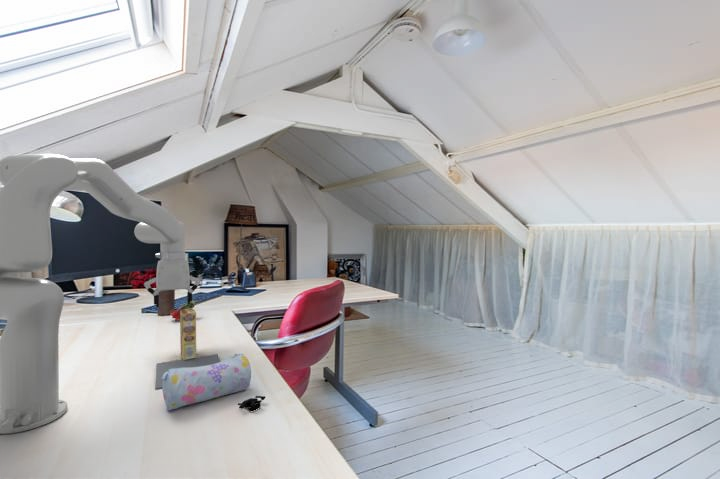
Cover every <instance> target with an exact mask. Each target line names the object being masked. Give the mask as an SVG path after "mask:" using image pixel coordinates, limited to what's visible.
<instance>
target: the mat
mask: <svg viewBox="0 0 720 479" xmlns="http://www.w3.org/2000/svg"><path fill="white" fill-rule="evenodd" d="M219 356H220V355H219V354H217V353H216V354H210V355H204V356H196V358H193V359H187V360H183V358H182V359H176V360H171V361H163V362H156V366H155V367H156V368H155V383H154V384H155V385H154V386H155V387H154V389H155V391H156V390H159V389H160V390H161V389H162V381H163V379H161V378H162V376H163V374H164V373H165V372H167V371H169V369H172V368H188V367H200V366H207V365H212V364H216V363H219V362H221V359H220V357H219Z"/></svg>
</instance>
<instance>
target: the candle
mask: <svg viewBox="0 0 720 479" xmlns="http://www.w3.org/2000/svg"><path fill="white" fill-rule="evenodd" d="M175 293H176V290H161V291H160V292H159V293H158V295H159V307H157V316H167V315H170V313H172V311H173V312H175V311H176V310H175V305H176V304H175V303H176V302H175V301H176V299H175ZM173 308H174V309H173Z"/></svg>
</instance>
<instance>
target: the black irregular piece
mask: <svg viewBox="0 0 720 479" xmlns="http://www.w3.org/2000/svg"><path fill="white" fill-rule="evenodd" d="M259 399H260V400H259ZM265 399H266V396H265V395H264V396H262V395H256V396H255V398H253V397H251V398H248V399H246V400H244V401H242V402H239V403H237V406H239V407H238V409H241V410H242V409H243V410H244V409H246V408H247V410H248V412H250V411H253V412H254V410H255V411H257V410H259V409H260V408H261V406H262V404H261V403H262V401H264V400H265ZM244 407H245V408H244ZM258 408H259V409H258ZM256 409H257V410H256Z"/></svg>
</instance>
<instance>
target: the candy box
mask: <svg viewBox="0 0 720 479" xmlns="http://www.w3.org/2000/svg"><path fill="white" fill-rule="evenodd" d="M179 329H180V331H179V332H180V336H179V339H180V341H179V342H180V356H181V358H182V359H183V360H187V359H193V358H196V357H197V312H196V311H195V309H194V308H191V309H181V310H180V322H179Z"/></svg>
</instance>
